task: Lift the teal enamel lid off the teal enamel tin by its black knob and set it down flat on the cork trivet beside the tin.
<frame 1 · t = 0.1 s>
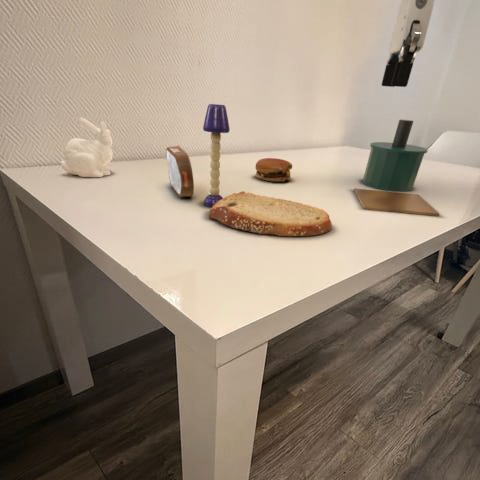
hand: (393, 86, 74), 21 cm above the table, tool pointing down, fingers open, 9 cm apart
enamel tin: (387, 184, 88), on the table
tin: (180, 193, 72), on the table
tin lid: (397, 149, 83), point 8 cm above the table, touching enamel tin
toy lamp: (215, 205, 66), on the table
bread slice: (267, 222, 59), on the table
rabbit: (96, 175, 80), on the table
burger: (273, 179, 86), on the table
trivet: (392, 202, 74), on the table
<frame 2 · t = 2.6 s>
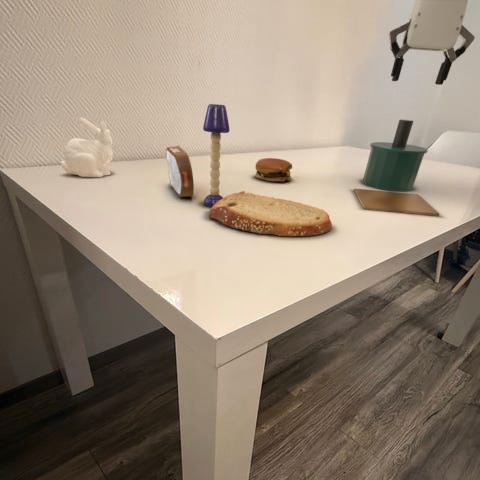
hand: (416, 82, 75), 22 cm above the table, tool pointing down, fingers open, 9 cm apart
nothing on the table moved.
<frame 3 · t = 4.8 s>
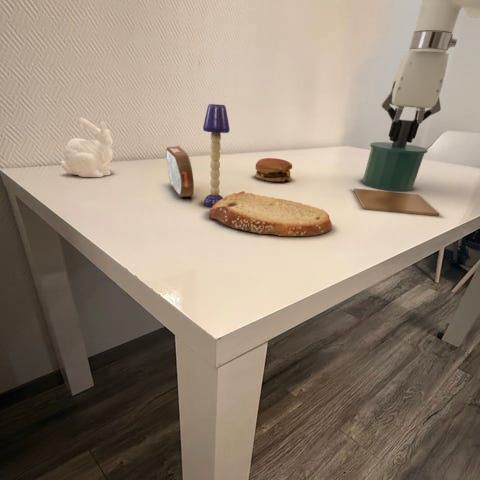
hand: (400, 140, 82), 10 cm above the table, tool pointing down, fingers closed on tin lid, 3 cm apart
tin lid: (397, 149, 83), point 9 cm above the table, touching enamel tin, gripper
everything else where it was.
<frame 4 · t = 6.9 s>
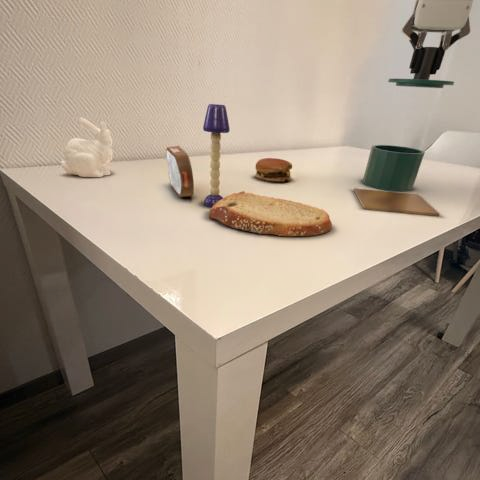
hand: (422, 72, 72), 24 cm above the table, tool pointing down, fingers closed on tin lid, 3 cm apart
tin lid: (419, 83, 73), point 22 cm above the table, touching gripper
everything else where it was.
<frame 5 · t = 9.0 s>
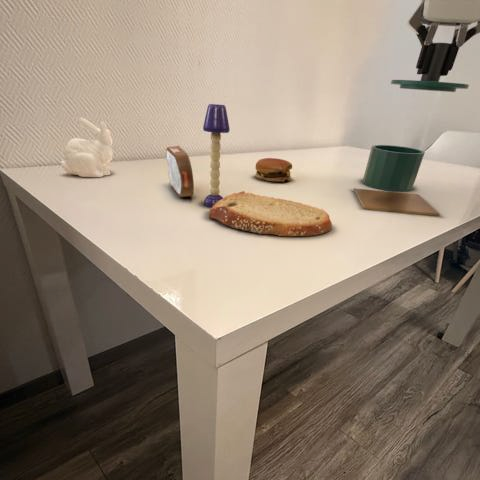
hand: (431, 73, 61), 23 cm above the table, tool pointing down, fingers closed on tin lid, 3 cm apart
tin lid: (427, 86, 63), point 21 cm above the table, touching gripper
everything else where it was.
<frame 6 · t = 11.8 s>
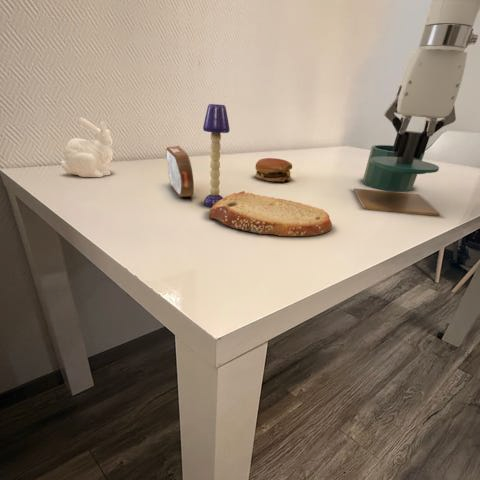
hand: (406, 155, 69), 9 cm above the table, tool pointing down, fingers closed on tin lid, 3 cm apart
tin lid: (403, 165, 70), point 8 cm above the table, touching gripper
everything else where it was.
when the fingers open (3 cm above the table, at t = 13.6 s): tin lid stays where it is, resting on trivet.
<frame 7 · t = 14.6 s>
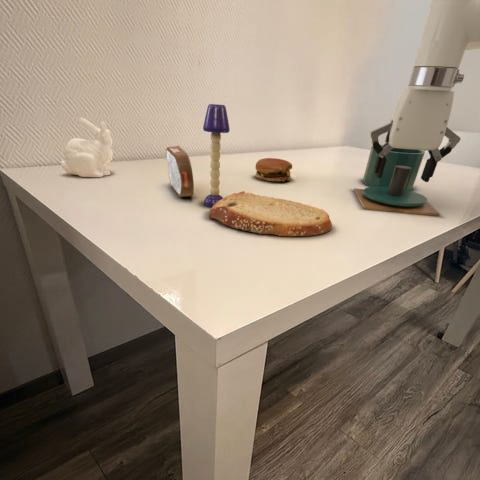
hand: (401, 178, 71), 5 cm above the table, tool pointing down, fingers open, 9 cm apart
tin lid: (393, 197, 73), point 1 cm above the table, touching trivet
everything else where it was.
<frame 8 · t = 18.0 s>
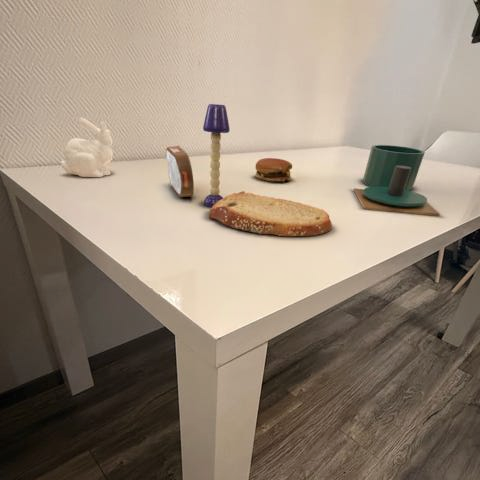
nothing on the table moved.
at the end: tin lid inside the target area on the trivet (0.1 cm from its centre), point 1.1 cm above the trivet's base; tin lid tilted 0° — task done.
